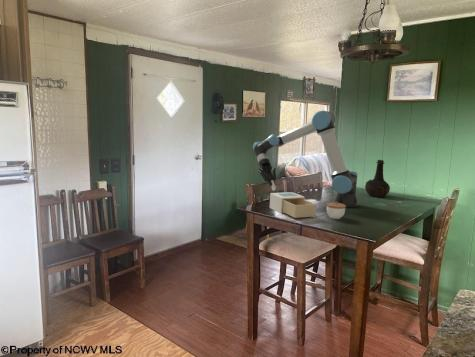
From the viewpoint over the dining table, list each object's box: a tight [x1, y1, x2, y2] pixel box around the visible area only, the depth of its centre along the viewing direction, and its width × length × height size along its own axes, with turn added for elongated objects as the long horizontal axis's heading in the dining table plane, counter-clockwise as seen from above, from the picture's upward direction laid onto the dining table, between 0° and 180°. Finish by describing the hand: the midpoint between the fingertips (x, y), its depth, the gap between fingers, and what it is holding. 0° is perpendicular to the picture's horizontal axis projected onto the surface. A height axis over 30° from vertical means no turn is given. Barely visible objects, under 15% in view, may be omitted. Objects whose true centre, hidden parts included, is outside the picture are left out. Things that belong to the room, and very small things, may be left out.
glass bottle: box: [364, 159, 391, 198], centre depth 277 cm, size 18×18×28 cm
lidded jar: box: [326, 202, 347, 220], centre depth 210 cm, size 11×11×9 cm
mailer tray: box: [282, 198, 317, 219], centre depth 217 cm, size 26×14×7 cm, turn 23°
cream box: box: [269, 191, 306, 214], centre depth 223 cm, size 14×16×10 cm
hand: (274, 189), depth 237 cm, fingers closed
